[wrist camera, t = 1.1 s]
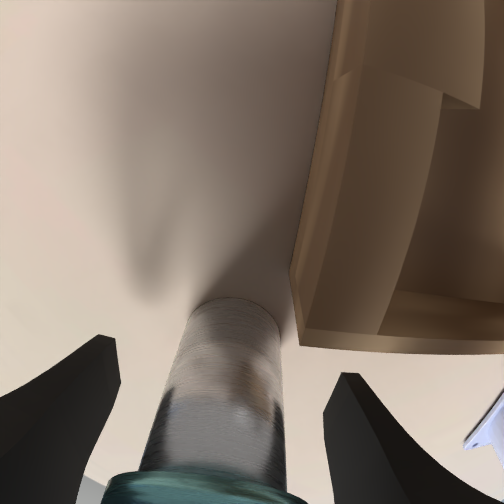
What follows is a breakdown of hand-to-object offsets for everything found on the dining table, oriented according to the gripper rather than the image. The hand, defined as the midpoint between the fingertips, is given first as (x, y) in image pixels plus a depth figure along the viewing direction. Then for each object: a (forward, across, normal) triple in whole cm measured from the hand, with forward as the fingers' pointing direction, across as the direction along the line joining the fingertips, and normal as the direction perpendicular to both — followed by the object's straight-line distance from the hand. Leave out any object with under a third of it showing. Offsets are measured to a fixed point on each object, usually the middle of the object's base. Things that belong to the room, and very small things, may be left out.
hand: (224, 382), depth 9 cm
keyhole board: (+2, -7, -10) cm, 13 cm away
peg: (+2, 0, 0) cm, 2 cm away
